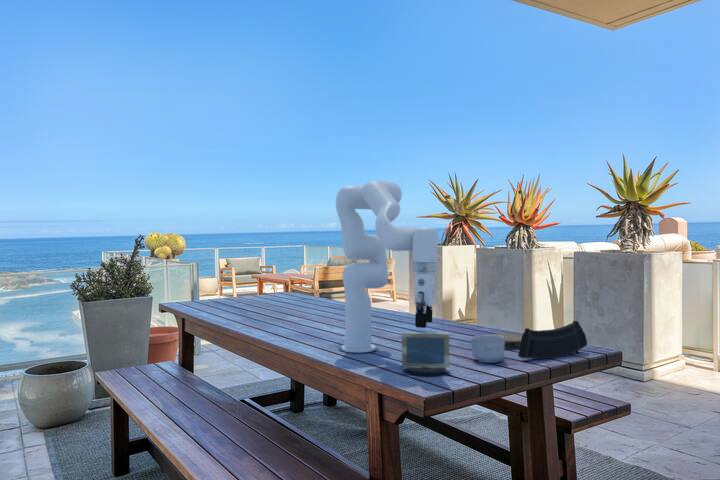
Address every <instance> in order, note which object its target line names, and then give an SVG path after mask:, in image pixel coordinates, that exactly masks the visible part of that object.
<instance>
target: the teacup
mask: <svg viewBox="0 0 720 480" xmlns="http://www.w3.org/2000/svg"><path fill="white" fill-rule="evenodd" d="M470 342H471V343H470V344H471V345H470V346H471V347H470V348H471V353H472V354H471V355H472V356H473V358H474V359H476V360H477V361H478V362H480V363H484V364H485V363H486V364H490V363H491V364H492V363H498V362H500V361H501V360H502V359H503V358H504V357H505V351H506V349H505V347H504V344H505V338H504V337H503V336H501V335H499V336H495V335H490V334H485V335H483V334H481V335H473V336H471V337H470Z"/></svg>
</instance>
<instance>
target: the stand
mask: <svg viewBox="0 0 720 480" xmlns="http://www.w3.org/2000/svg"><path fill="white" fill-rule="evenodd" d="M446 370H447V367H405V373H407V374H409V375H412V376H416V377H439V376H443V375H445V374H446V372H447V371H446Z"/></svg>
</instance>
